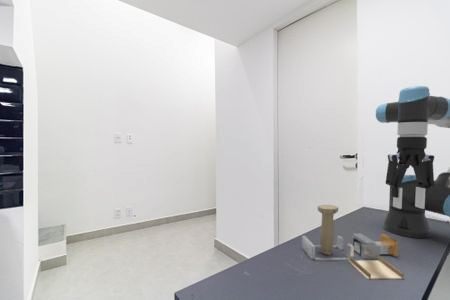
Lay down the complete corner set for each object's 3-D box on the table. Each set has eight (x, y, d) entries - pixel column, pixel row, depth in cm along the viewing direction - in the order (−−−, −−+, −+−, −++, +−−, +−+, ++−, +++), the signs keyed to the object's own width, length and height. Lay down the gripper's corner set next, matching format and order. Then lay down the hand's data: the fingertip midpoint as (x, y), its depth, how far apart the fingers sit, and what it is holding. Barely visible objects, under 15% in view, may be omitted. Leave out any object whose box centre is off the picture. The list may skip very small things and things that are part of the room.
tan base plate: (380, 261, 71) (381, 256, 71) (404, 279, 62) (405, 273, 62) (348, 261, 70) (348, 256, 70) (367, 279, 61) (367, 273, 61)
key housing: (364, 248, 80) (365, 233, 80) (379, 258, 73) (380, 242, 72) (350, 248, 80) (351, 233, 79) (363, 258, 72) (364, 242, 72)
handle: (339, 254, 75) (341, 207, 74) (325, 258, 72) (326, 210, 72) (327, 248, 79) (329, 204, 79) (313, 251, 77) (314, 205, 76)
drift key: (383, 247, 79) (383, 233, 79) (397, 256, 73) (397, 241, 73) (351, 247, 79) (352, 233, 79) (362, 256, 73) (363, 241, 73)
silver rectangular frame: (338, 246, 80) (339, 235, 80) (354, 260, 71) (355, 247, 71) (301, 246, 80) (301, 235, 80) (312, 260, 71) (312, 247, 71)
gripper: (430, 137, 79) (427, 204, 80) (373, 136, 79) (371, 204, 80) (453, 136, 72) (449, 211, 73) (390, 135, 71) (387, 210, 72)
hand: (408, 207), depth 76 cm, fingers open, 7 cm apart
